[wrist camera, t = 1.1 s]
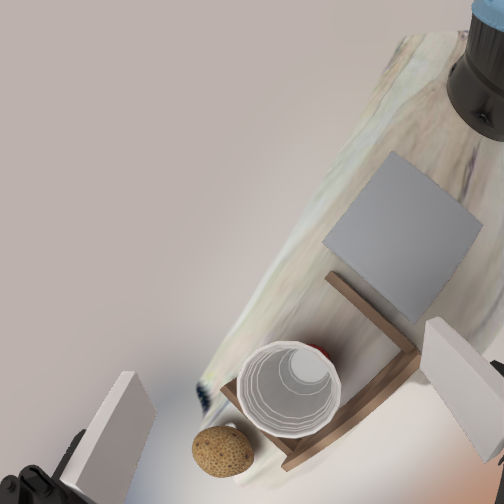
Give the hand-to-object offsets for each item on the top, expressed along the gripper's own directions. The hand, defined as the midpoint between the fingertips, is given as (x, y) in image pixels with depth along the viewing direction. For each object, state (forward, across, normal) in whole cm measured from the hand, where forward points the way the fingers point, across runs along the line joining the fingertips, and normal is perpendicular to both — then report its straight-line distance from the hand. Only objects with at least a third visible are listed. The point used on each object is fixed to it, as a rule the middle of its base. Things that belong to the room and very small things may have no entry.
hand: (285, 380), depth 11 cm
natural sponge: (+20, -10, -30) cm, 37 cm away
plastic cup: (+22, +3, -17) cm, 28 cm away
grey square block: (+23, +17, -2) cm, 29 cm away
